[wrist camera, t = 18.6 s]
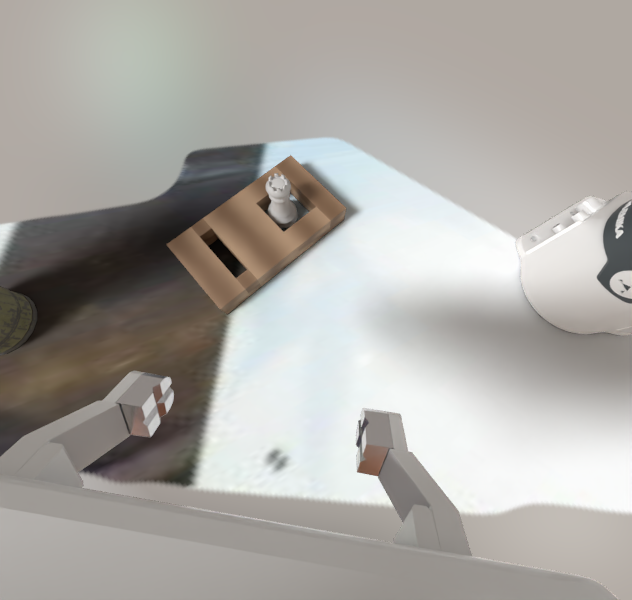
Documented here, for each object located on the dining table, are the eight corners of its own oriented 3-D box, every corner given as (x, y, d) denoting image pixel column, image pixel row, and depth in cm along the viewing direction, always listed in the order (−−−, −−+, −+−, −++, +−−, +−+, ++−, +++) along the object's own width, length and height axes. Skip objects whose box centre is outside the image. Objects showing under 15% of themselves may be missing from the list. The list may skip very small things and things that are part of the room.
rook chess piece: (284, 198, 43) (279, 160, 35) (304, 217, 42) (303, 182, 35) (262, 216, 42) (251, 180, 35) (281, 235, 42) (275, 204, 34)
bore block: (292, 169, 45) (290, 155, 42) (343, 219, 42) (346, 208, 40) (176, 254, 41) (166, 244, 38) (227, 314, 38) (220, 309, 35)
